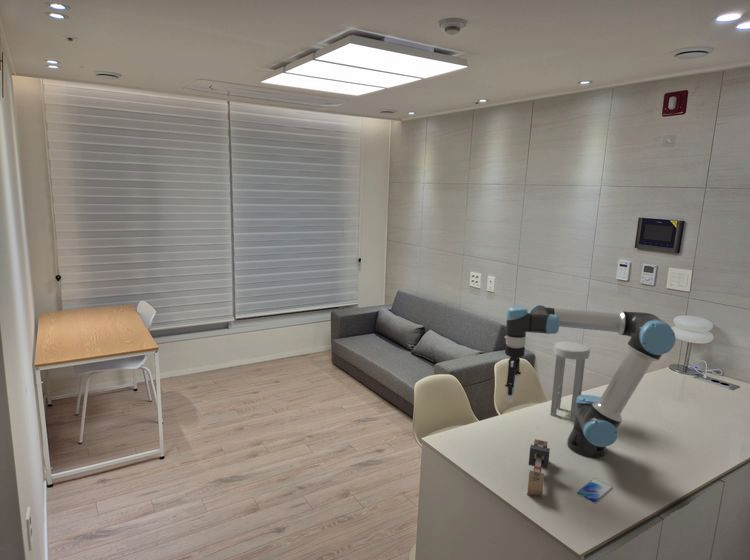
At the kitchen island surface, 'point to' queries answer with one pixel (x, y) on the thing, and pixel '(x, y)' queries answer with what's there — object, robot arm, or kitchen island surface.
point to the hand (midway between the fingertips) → (512, 395)
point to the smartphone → (594, 490)
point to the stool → (562, 352)
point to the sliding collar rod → (537, 473)
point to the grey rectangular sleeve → (541, 451)
